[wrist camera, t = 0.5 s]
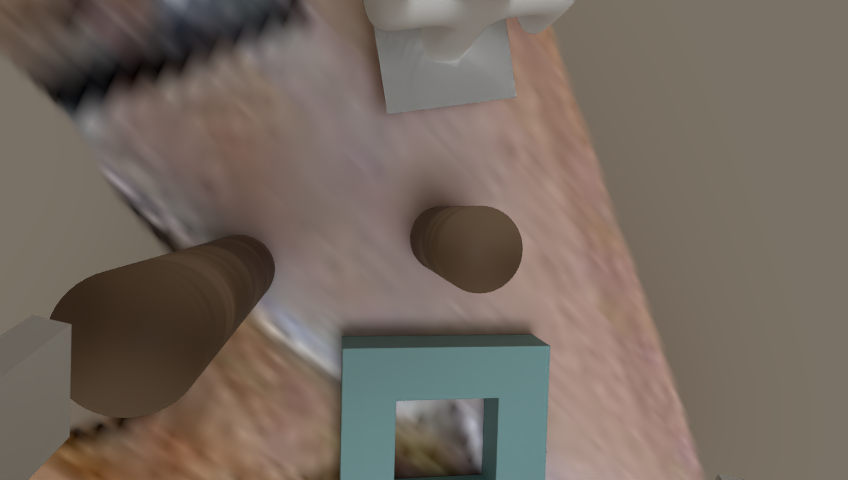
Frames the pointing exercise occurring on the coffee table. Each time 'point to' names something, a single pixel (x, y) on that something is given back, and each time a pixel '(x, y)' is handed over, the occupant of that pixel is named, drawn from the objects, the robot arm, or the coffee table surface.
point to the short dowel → (468, 246)
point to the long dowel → (159, 323)
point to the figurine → (451, 48)
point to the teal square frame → (445, 379)
